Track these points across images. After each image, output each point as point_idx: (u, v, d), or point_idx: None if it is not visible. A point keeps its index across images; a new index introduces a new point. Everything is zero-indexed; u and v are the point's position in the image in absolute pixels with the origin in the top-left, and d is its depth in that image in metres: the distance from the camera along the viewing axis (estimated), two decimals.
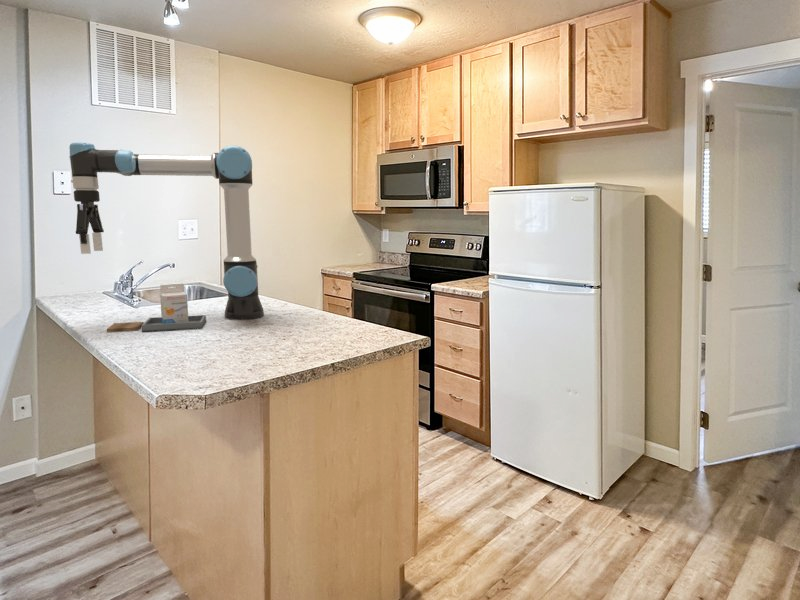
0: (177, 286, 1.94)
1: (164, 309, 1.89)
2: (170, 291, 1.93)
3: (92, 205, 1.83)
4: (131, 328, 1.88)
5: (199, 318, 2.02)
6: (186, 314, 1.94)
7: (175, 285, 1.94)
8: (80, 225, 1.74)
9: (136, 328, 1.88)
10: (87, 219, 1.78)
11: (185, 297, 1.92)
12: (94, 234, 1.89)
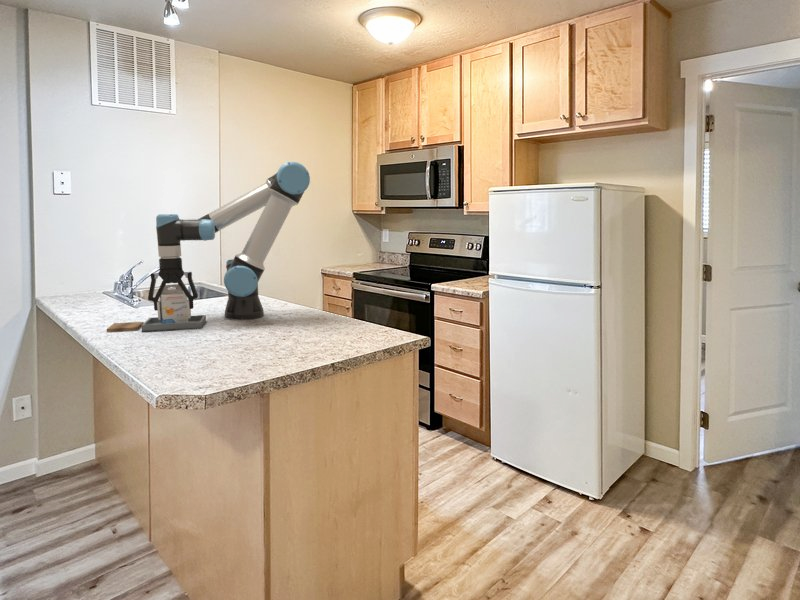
0: (176, 286, 1.95)
1: (163, 309, 1.90)
2: (170, 291, 1.94)
3: (175, 271, 1.91)
4: (131, 328, 1.88)
5: (199, 318, 2.02)
6: (186, 314, 1.94)
7: (174, 285, 1.95)
8: None
9: (136, 328, 1.88)
10: None
11: (185, 297, 1.93)
12: None
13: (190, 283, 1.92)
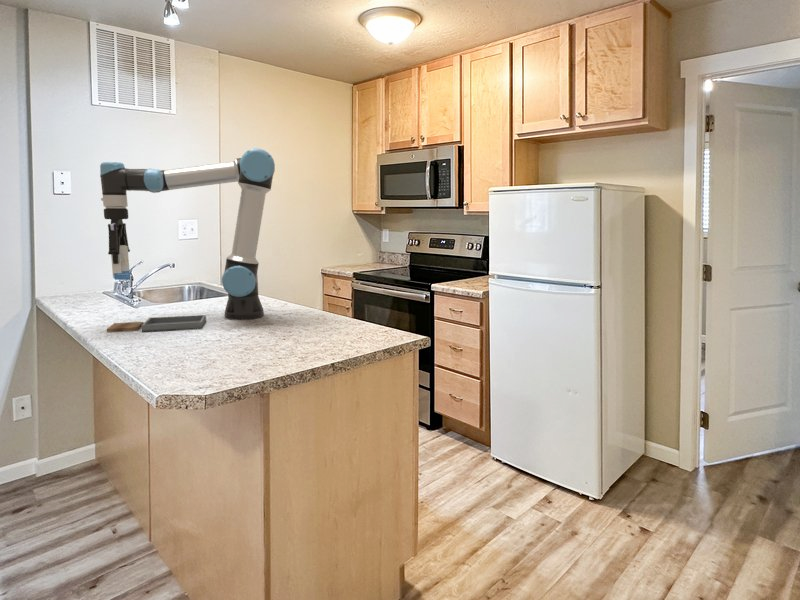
0: None
1: (128, 260, 1.86)
2: None
3: (121, 221, 1.87)
4: (131, 328, 1.88)
5: (199, 318, 2.02)
6: None
7: None
8: (112, 246, 1.79)
9: (136, 328, 1.88)
10: (118, 238, 1.83)
11: None
12: None
13: (126, 234, 1.93)
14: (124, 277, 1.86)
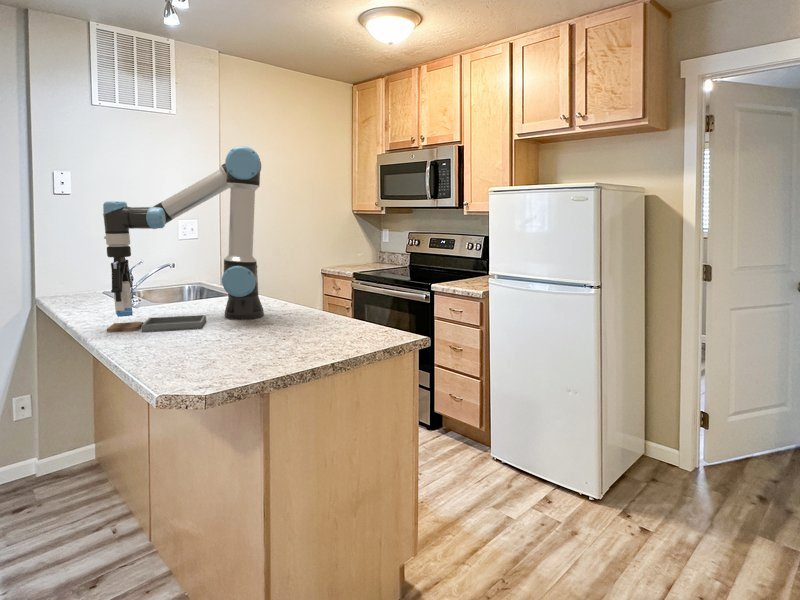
0: None
1: None
2: None
3: (124, 258, 1.90)
4: (131, 328, 1.88)
5: (199, 318, 2.02)
6: None
7: None
8: (115, 285, 1.82)
9: (136, 328, 1.88)
10: (120, 276, 1.85)
11: None
12: None
13: (128, 270, 1.95)
14: (127, 314, 1.88)
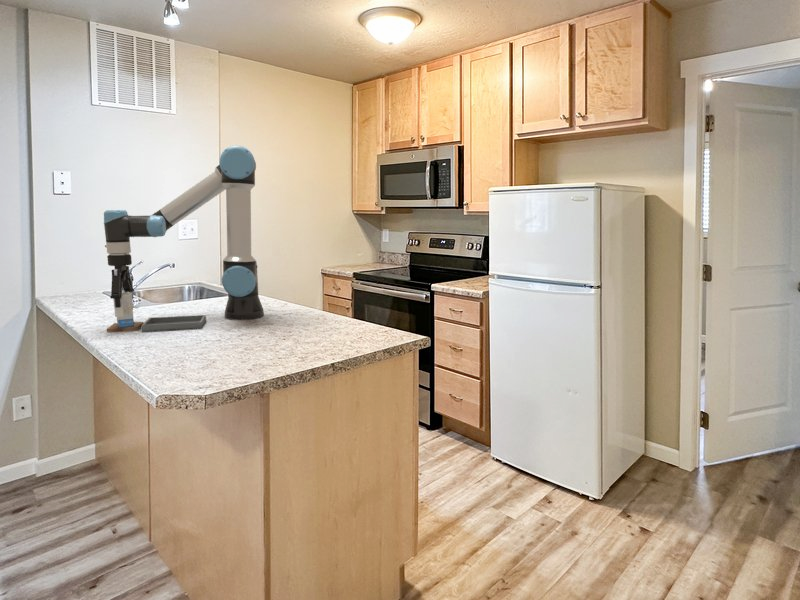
0: None
1: (132, 308, 1.89)
2: None
3: (124, 268, 1.90)
4: (131, 328, 1.88)
5: (199, 318, 2.02)
6: None
7: None
8: (115, 290, 1.81)
9: (136, 328, 1.88)
10: (121, 283, 1.85)
11: None
12: None
13: (129, 276, 1.96)
14: (128, 325, 1.89)
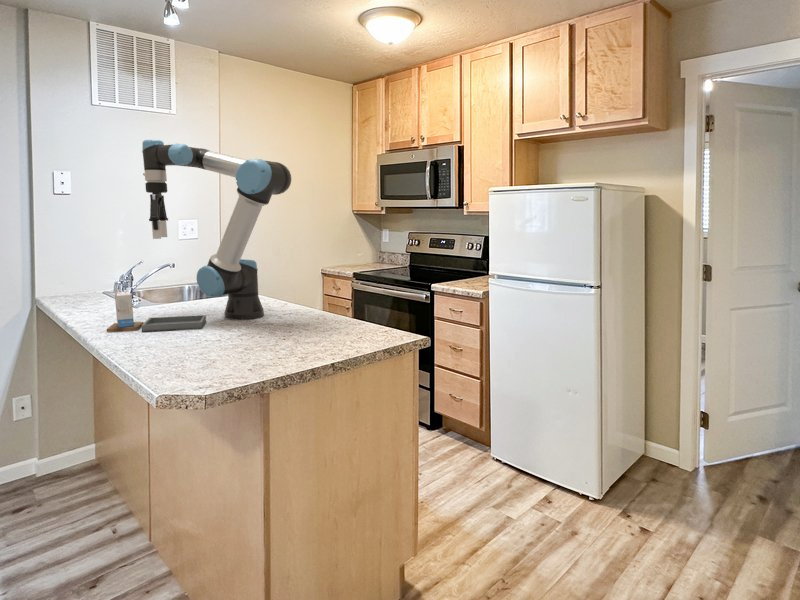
0: (115, 287, 1.90)
1: (132, 308, 1.89)
2: (115, 293, 1.88)
3: (160, 196, 2.05)
4: (131, 328, 1.88)
5: (199, 318, 2.02)
6: None
7: (115, 286, 1.89)
8: (153, 213, 1.95)
9: (136, 328, 1.88)
10: (158, 208, 1.99)
11: None
12: (160, 222, 2.11)
13: (164, 205, 2.11)
14: (128, 325, 1.89)
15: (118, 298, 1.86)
